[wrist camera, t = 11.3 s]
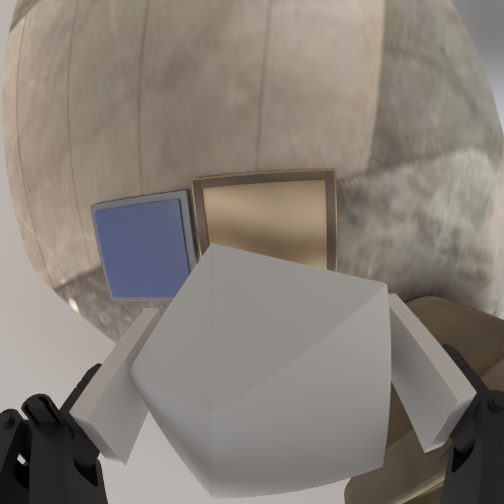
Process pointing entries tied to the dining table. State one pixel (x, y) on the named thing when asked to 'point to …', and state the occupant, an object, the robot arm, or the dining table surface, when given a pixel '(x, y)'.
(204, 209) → the board
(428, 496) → the plant pot
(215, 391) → the die
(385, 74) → the dining table surface
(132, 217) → the ink pad
